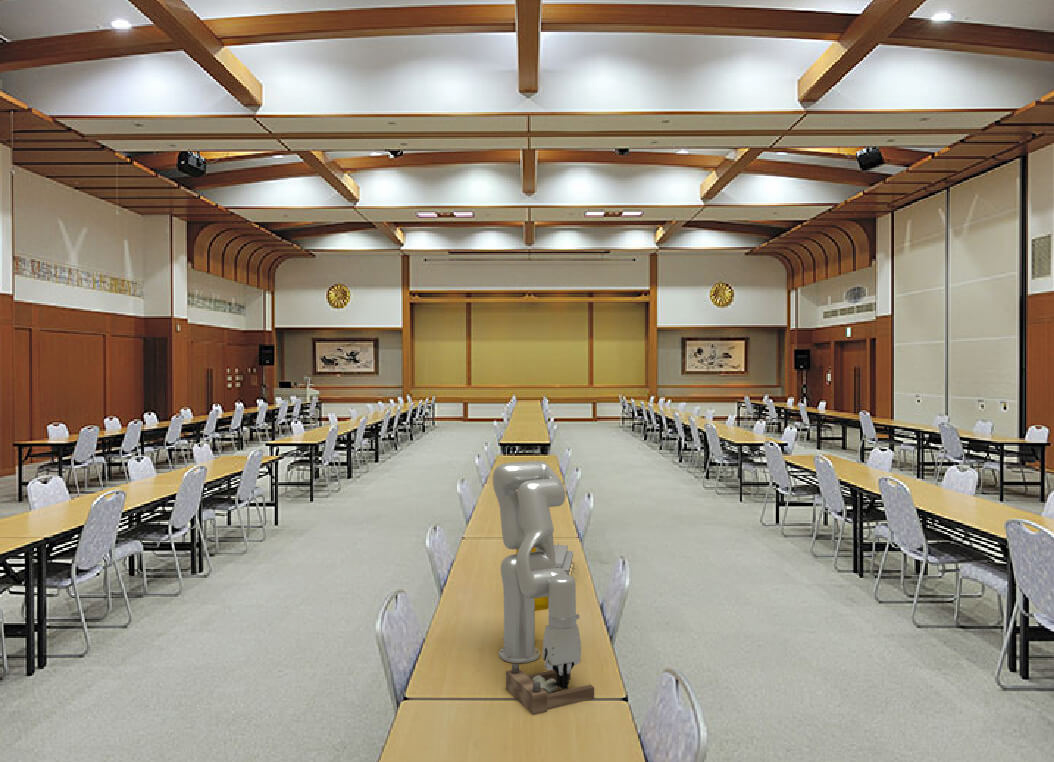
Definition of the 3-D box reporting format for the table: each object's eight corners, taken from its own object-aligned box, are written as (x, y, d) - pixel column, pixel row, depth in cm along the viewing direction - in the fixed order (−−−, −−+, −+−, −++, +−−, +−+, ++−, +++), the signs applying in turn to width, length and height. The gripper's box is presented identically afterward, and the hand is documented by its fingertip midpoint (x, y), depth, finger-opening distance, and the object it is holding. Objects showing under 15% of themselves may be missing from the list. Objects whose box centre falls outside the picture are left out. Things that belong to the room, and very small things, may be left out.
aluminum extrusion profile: (573, 565, 333) (573, 543, 333) (568, 585, 303) (568, 561, 302) (542, 564, 335) (542, 543, 335) (534, 584, 304) (534, 560, 304)
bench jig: (505, 688, 205) (505, 663, 205) (565, 676, 214) (565, 652, 214) (533, 714, 190) (533, 687, 190) (596, 699, 199) (596, 674, 198)
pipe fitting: (555, 688, 207) (531, 688, 206) (556, 675, 207) (532, 674, 206) (560, 701, 199) (535, 701, 198) (561, 687, 199) (536, 686, 198)
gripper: (578, 613, 210) (579, 677, 210) (531, 621, 203) (532, 687, 203) (592, 620, 203) (593, 687, 203) (544, 629, 196) (545, 698, 196)
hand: (562, 687), depth 203 cm, fingers closed
